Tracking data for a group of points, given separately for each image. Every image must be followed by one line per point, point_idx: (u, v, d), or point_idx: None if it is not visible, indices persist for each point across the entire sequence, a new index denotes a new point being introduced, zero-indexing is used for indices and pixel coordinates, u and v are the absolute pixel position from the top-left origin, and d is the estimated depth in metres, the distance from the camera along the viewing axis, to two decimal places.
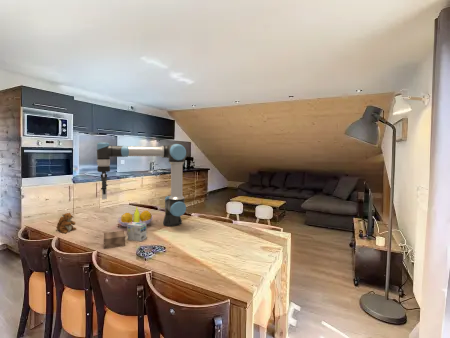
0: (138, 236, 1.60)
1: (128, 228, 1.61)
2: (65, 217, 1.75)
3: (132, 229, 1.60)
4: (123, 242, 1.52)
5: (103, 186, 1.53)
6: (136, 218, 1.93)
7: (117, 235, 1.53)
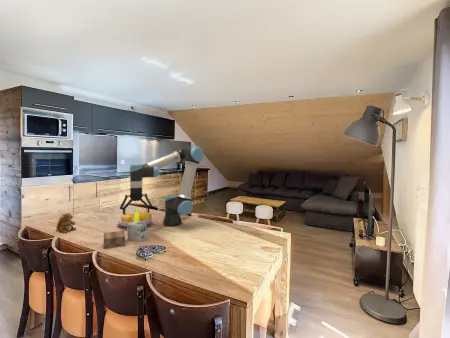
0: (138, 236, 1.60)
1: (128, 228, 1.61)
2: (65, 217, 1.75)
3: (132, 229, 1.60)
4: (123, 242, 1.52)
5: (120, 206, 1.58)
6: (136, 218, 1.93)
7: (117, 235, 1.53)
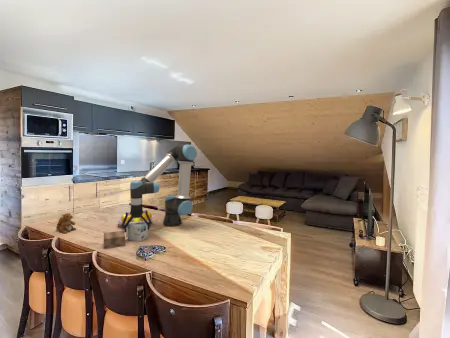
0: (138, 236, 1.60)
1: (128, 228, 1.61)
2: (65, 217, 1.75)
3: (132, 229, 1.60)
4: (123, 242, 1.52)
5: None
6: (136, 218, 1.92)
7: (117, 235, 1.53)
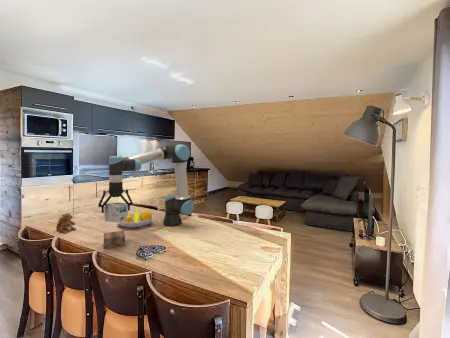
0: (117, 217, 1.43)
1: (106, 208, 1.45)
2: (65, 217, 1.75)
3: (110, 209, 1.44)
4: (123, 242, 1.52)
5: None
6: (136, 218, 1.93)
7: (117, 235, 1.53)
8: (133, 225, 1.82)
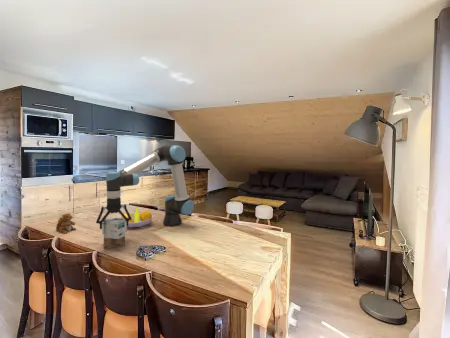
0: (115, 233, 1.43)
1: (104, 224, 1.44)
2: (65, 217, 1.74)
3: (108, 225, 1.43)
4: (123, 242, 1.52)
5: None
6: (136, 218, 1.92)
7: None
8: (133, 225, 1.82)
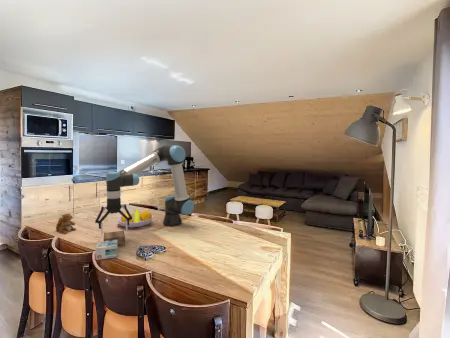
0: None
1: None
2: (65, 217, 1.74)
3: None
4: (123, 242, 1.52)
5: (96, 219, 1.42)
6: (136, 218, 1.93)
7: (117, 235, 1.53)
8: (133, 225, 1.82)
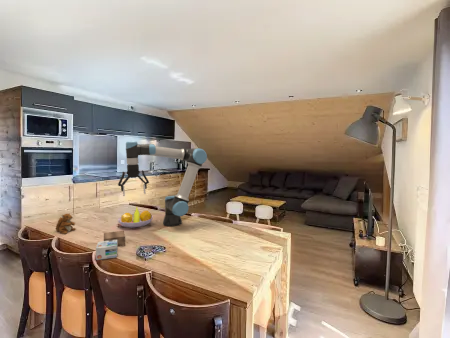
0: None
1: None
2: (65, 218, 1.74)
3: None
4: (123, 242, 1.52)
5: (118, 183, 1.63)
6: (136, 218, 1.93)
7: (117, 235, 1.53)
8: (133, 225, 1.82)
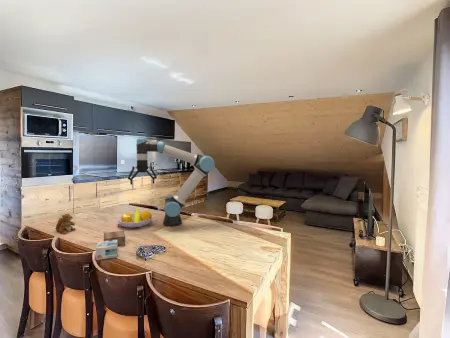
0: None
1: None
2: (65, 218, 1.74)
3: None
4: (123, 242, 1.52)
5: (128, 177, 1.74)
6: (136, 218, 1.93)
7: (117, 235, 1.53)
8: (133, 225, 1.82)
